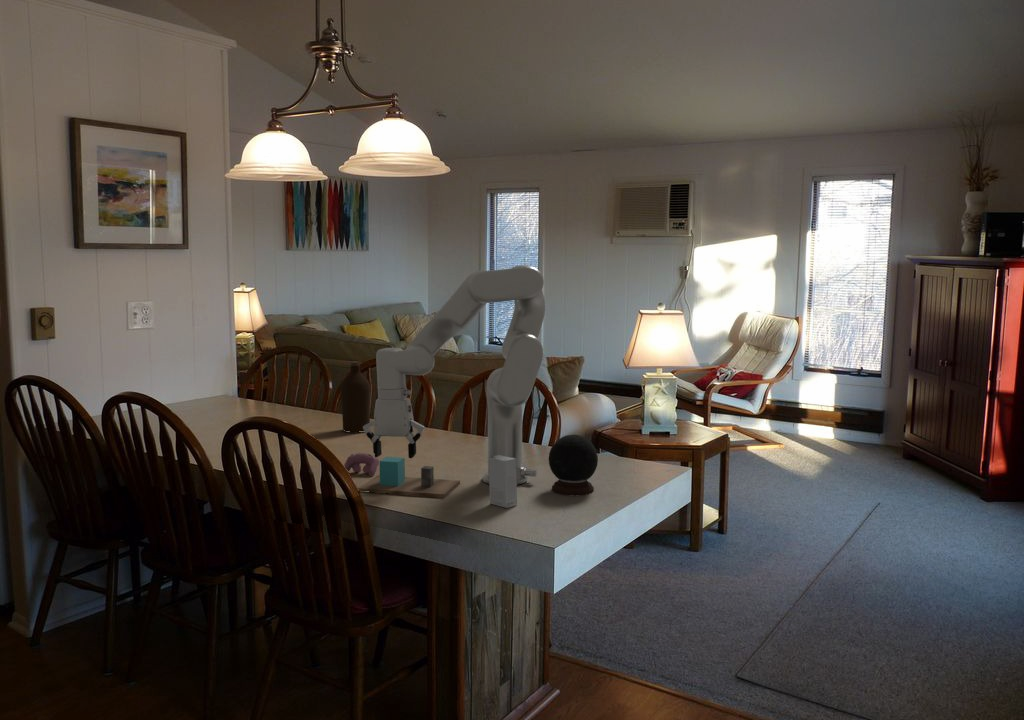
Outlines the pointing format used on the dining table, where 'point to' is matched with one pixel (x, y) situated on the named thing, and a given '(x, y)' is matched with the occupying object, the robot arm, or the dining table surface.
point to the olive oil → (355, 400)
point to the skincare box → (502, 481)
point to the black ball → (573, 465)
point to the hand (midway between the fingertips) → (395, 456)
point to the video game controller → (362, 458)
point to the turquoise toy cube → (392, 471)
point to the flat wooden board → (415, 485)
